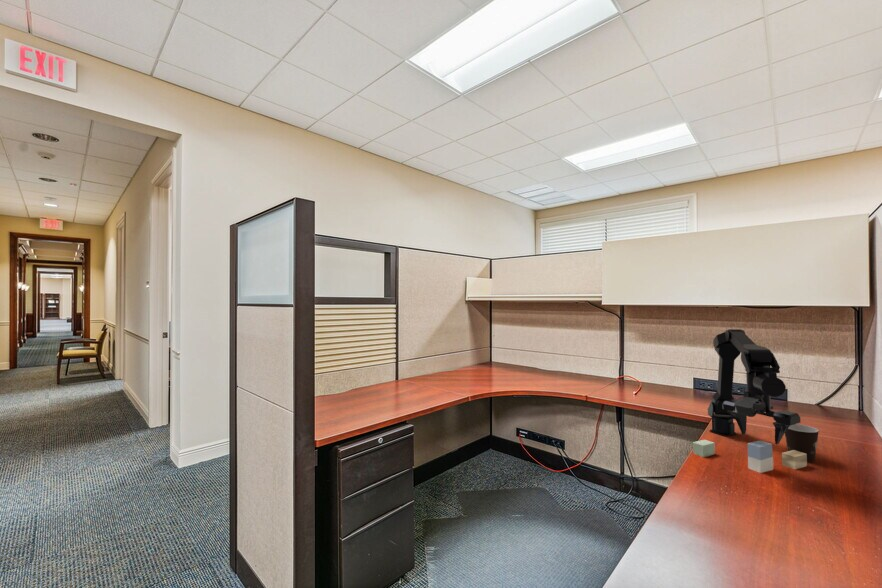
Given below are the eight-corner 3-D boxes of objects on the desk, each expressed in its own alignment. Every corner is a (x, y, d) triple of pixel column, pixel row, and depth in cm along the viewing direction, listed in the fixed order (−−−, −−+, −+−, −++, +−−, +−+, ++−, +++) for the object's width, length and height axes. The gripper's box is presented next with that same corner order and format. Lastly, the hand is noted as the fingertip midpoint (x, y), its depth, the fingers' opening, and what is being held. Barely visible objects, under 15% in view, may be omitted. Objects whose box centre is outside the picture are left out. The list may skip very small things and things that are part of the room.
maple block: (782, 465, 124) (781, 452, 124) (793, 462, 127) (793, 449, 127) (795, 469, 121) (794, 457, 121) (807, 466, 123) (806, 453, 123)
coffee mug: (807, 465, 124) (806, 433, 124) (777, 454, 132) (776, 425, 132) (832, 460, 127) (831, 429, 127) (802, 450, 135) (801, 421, 135)
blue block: (747, 456, 122) (747, 443, 123) (759, 452, 125) (759, 440, 125) (760, 460, 119) (760, 447, 119) (772, 456, 121) (772, 444, 121)
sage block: (693, 453, 135) (692, 442, 135) (704, 450, 137) (704, 439, 137) (703, 457, 132) (702, 445, 132) (714, 454, 134) (714, 442, 134)
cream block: (748, 468, 123) (747, 455, 123) (760, 465, 125) (760, 452, 125) (760, 473, 119) (760, 460, 119) (773, 469, 121) (772, 456, 121)
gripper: (710, 385, 128) (712, 433, 128) (778, 398, 110) (779, 454, 110) (732, 382, 132) (734, 428, 132) (800, 394, 115) (802, 447, 115)
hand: (759, 438), depth 122 cm, fingers open, 9 cm apart
